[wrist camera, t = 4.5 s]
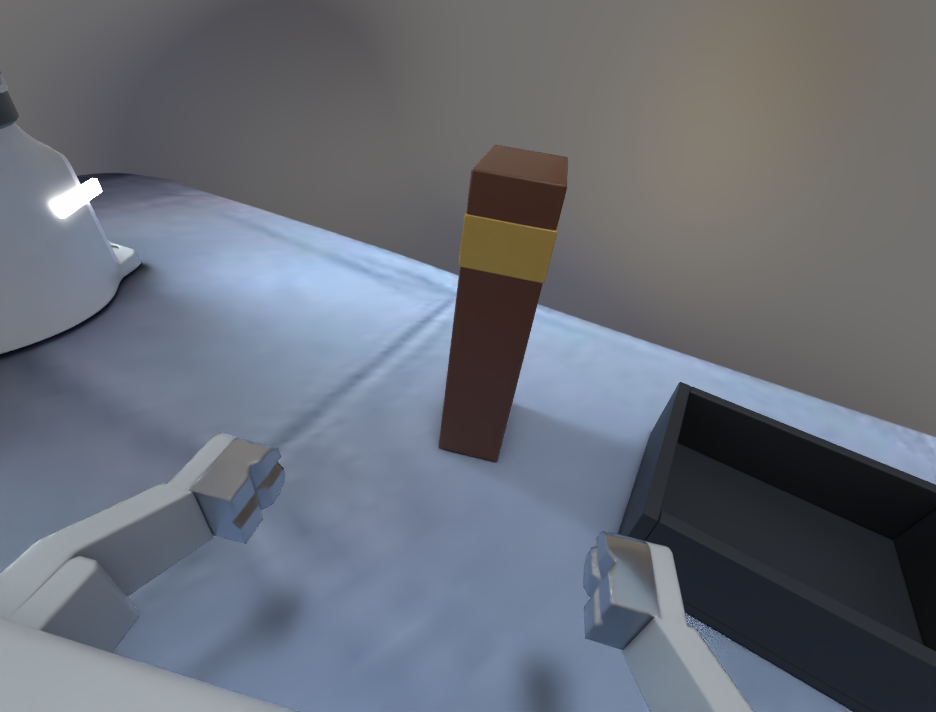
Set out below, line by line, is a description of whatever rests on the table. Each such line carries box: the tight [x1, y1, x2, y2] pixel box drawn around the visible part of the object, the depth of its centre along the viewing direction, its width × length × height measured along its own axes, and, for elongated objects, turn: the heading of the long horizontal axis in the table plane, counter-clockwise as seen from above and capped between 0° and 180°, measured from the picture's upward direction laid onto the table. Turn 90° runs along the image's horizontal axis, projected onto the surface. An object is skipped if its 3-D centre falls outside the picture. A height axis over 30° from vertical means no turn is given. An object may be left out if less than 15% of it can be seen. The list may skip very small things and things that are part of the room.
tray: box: [618, 382, 936, 712], centre depth 18 cm, size 12×10×4 cm
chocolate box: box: [439, 145, 568, 462], centre depth 20 cm, size 3×5×14 cm, turn 168°
